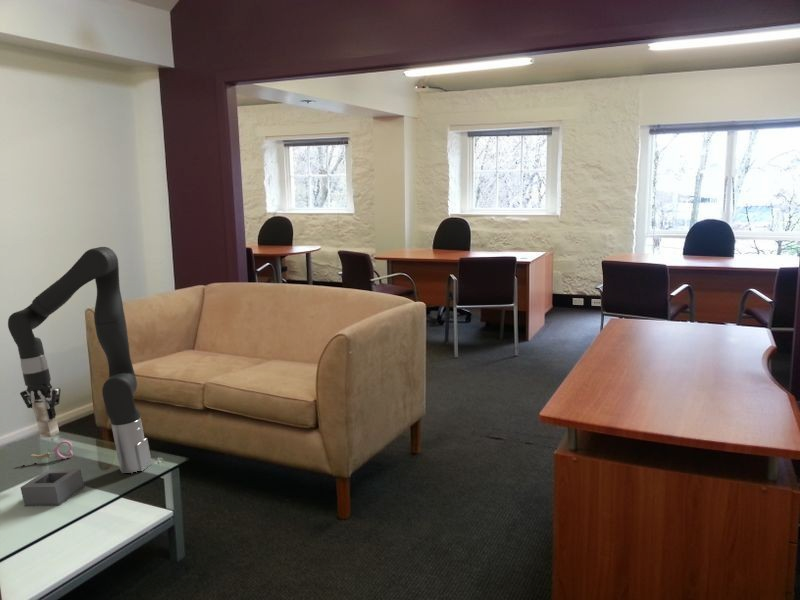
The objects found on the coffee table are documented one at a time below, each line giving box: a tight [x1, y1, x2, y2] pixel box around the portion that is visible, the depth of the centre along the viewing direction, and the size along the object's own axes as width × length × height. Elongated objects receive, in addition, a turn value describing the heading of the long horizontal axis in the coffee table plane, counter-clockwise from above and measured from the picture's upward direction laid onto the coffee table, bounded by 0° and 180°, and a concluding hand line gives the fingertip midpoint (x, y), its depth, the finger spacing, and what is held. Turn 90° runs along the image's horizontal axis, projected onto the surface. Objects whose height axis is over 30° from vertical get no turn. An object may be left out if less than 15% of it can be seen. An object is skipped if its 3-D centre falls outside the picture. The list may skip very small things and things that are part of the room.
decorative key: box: [30, 440, 74, 461], centre depth 231 cm, size 7×1×20 cm
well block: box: [20, 468, 85, 507], centre depth 201 cm, size 12×12×6 cm
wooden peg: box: [33, 400, 60, 438], centre depth 212 cm, size 4×4×12 cm
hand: (46, 418), depth 212 cm, fingers closed on wooden peg, 4 cm apart
